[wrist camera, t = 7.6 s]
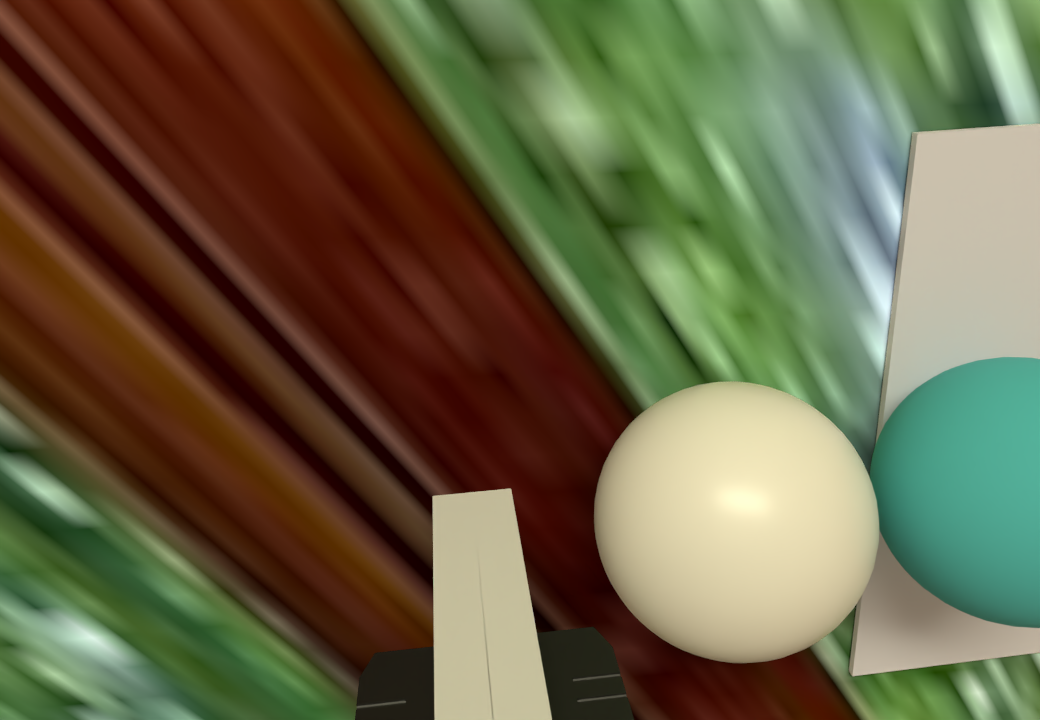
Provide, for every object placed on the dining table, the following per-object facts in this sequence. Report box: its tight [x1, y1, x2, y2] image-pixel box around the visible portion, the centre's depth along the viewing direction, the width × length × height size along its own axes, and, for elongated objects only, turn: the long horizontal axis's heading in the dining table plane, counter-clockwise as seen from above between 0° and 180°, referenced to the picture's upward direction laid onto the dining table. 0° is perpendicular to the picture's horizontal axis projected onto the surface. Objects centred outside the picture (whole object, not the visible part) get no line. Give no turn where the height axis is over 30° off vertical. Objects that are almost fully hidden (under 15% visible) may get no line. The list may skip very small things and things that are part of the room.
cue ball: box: [594, 381, 879, 663], centre depth 17 cm, size 6×6×6 cm
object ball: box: [870, 357, 1040, 628], centre depth 17 cm, size 6×6×6 cm
